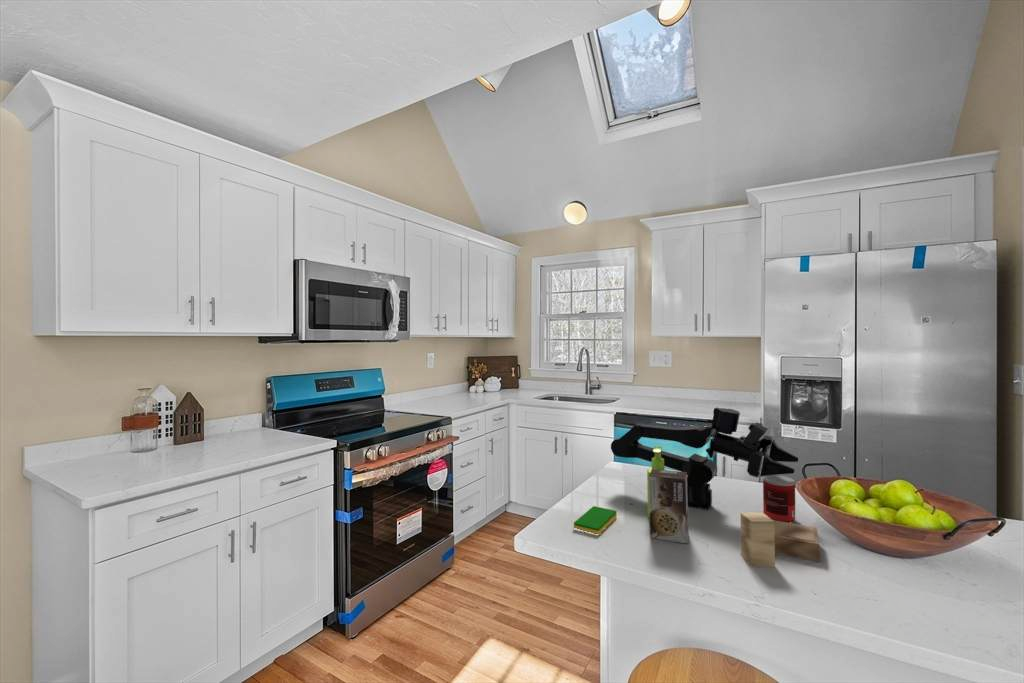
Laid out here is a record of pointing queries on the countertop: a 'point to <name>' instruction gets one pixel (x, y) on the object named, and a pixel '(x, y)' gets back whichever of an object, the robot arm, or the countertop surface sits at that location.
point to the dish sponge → (595, 520)
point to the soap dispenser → (655, 467)
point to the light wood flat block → (797, 540)
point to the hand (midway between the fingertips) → (796, 465)
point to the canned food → (779, 498)
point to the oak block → (757, 539)
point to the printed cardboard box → (668, 505)
